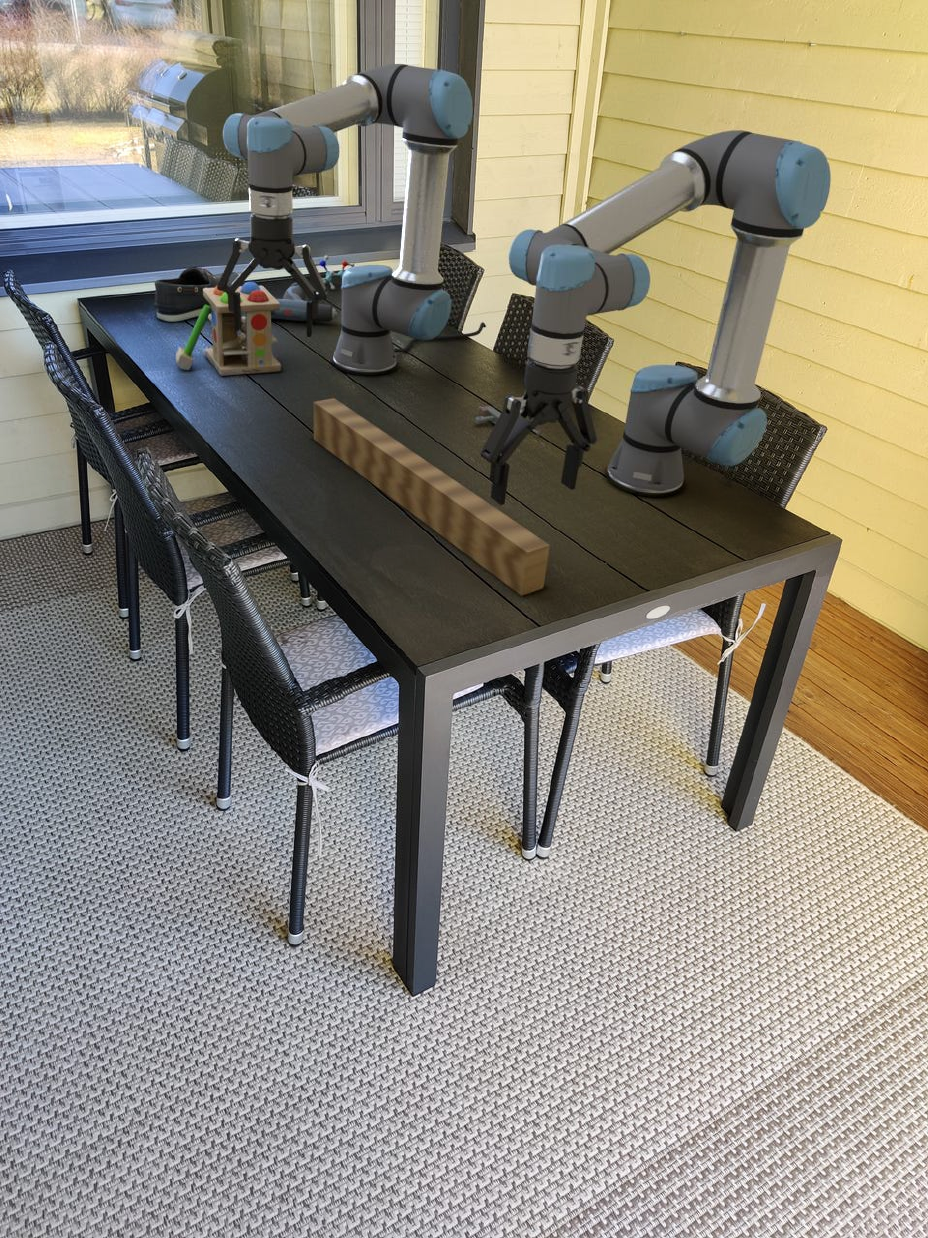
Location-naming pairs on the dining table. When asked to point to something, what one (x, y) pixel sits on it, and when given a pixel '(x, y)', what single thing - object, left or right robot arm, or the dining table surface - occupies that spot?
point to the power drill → (300, 307)
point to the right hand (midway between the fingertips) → (533, 493)
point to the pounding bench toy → (229, 347)
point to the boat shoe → (185, 293)
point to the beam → (434, 497)
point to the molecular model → (330, 274)
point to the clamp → (491, 416)
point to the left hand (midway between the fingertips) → (273, 331)
